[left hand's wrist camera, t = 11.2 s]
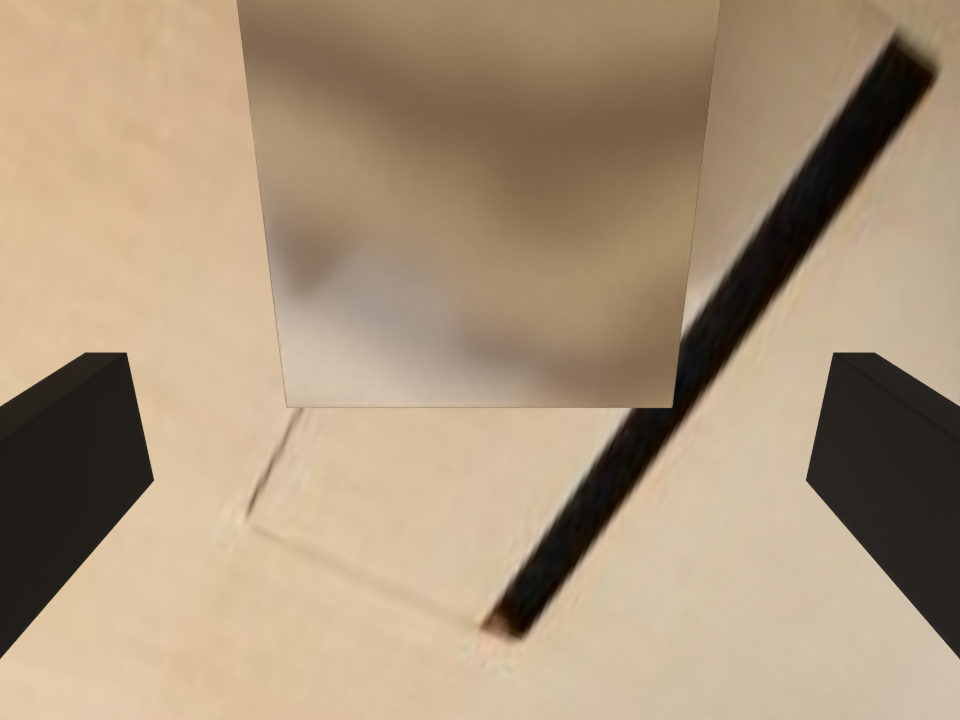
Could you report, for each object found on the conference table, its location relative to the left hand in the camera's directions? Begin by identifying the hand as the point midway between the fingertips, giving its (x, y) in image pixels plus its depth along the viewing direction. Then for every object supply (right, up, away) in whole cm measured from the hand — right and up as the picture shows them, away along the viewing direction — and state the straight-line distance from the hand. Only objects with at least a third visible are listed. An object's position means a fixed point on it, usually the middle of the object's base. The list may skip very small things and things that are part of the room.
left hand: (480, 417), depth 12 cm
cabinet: (0, +11, +12) cm, 17 cm away
